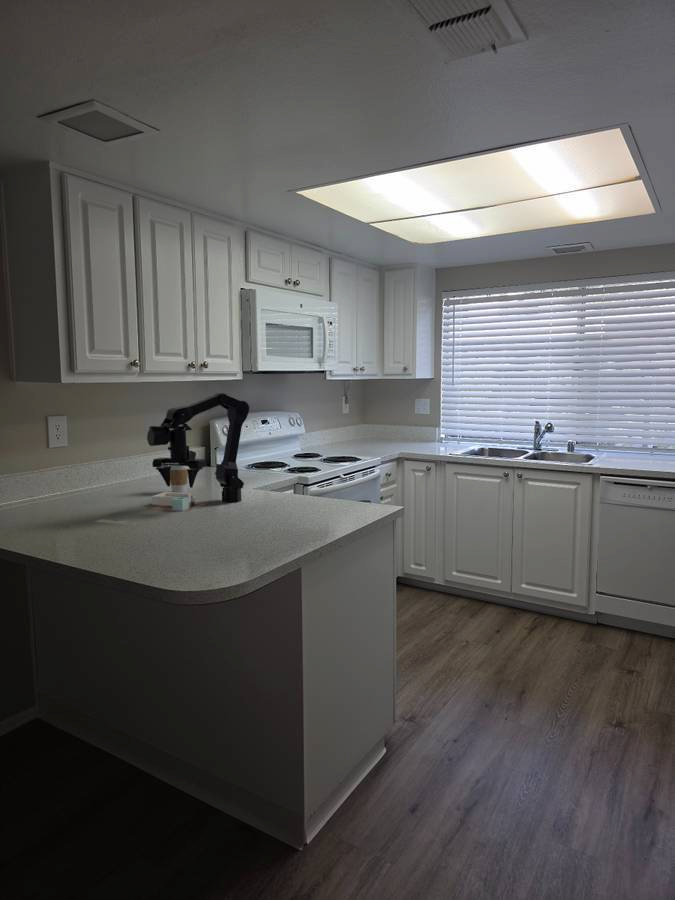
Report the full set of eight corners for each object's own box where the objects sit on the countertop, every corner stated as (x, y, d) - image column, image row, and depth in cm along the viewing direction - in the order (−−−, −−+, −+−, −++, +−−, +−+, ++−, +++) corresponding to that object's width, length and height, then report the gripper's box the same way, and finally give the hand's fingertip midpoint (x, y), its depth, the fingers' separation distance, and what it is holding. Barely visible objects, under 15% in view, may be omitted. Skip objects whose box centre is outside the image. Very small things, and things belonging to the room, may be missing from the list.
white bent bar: (190, 501, 234) (190, 493, 233) (178, 506, 226) (177, 497, 226) (165, 500, 237) (164, 492, 237) (152, 504, 229) (151, 496, 229)
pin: (195, 505, 229) (195, 495, 229) (193, 505, 228) (193, 496, 228) (192, 504, 230) (191, 495, 229) (190, 505, 228) (189, 496, 228)
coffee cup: (186, 494, 255) (185, 458, 253) (166, 494, 255) (164, 458, 253) (191, 490, 263) (190, 455, 261) (172, 490, 263) (170, 455, 262)
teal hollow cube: (189, 508, 224) (188, 497, 223) (182, 511, 220) (182, 499, 219) (178, 507, 225) (178, 497, 224) (172, 510, 221) (172, 499, 220)
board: (207, 506, 232) (207, 503, 232) (187, 514, 219) (187, 511, 219) (165, 503, 238) (165, 500, 238) (143, 511, 224) (143, 508, 224)
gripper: (212, 441, 224) (214, 484, 226) (168, 440, 230) (170, 482, 232) (196, 445, 214) (198, 489, 215) (150, 443, 219) (152, 487, 221)
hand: (180, 486), depth 221 cm, fingers open, 9 cm apart
